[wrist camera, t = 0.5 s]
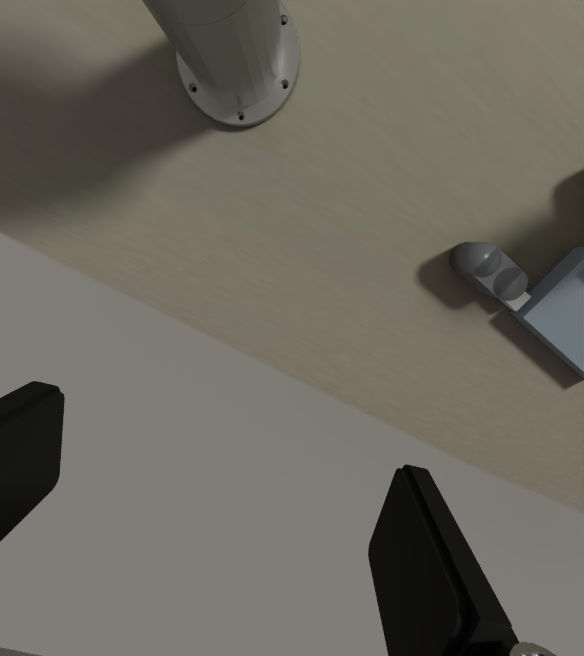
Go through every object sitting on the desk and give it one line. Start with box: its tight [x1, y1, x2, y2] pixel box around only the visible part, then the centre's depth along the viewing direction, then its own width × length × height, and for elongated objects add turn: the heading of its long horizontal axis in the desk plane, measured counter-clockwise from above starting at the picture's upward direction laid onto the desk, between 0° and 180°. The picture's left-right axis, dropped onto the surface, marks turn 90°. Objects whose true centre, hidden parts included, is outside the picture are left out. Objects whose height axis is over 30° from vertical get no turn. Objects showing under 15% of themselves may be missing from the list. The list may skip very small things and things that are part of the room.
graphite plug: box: [450, 242, 531, 311], centre depth 39 cm, size 10×4×4 cm, turn 51°
